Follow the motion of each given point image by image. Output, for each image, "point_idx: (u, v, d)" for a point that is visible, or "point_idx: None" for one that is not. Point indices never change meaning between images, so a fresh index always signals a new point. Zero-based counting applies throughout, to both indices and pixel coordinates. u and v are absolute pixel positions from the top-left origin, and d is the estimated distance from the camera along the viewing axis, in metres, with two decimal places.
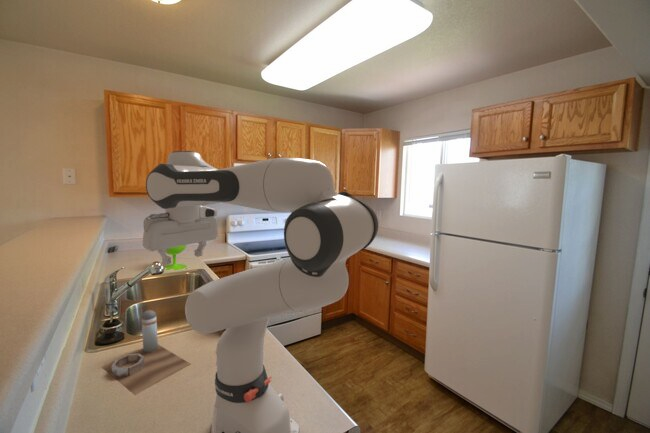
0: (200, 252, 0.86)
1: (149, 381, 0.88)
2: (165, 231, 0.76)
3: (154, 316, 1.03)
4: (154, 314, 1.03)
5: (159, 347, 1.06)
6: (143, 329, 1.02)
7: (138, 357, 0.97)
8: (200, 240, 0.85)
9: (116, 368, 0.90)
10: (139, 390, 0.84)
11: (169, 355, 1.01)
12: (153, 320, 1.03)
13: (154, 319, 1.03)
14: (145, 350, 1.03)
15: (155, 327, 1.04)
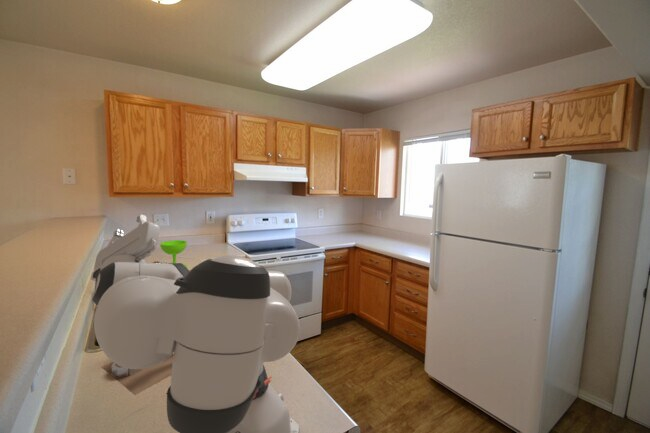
0: (114, 233, 0.82)
1: (149, 381, 0.88)
2: (136, 242, 0.74)
3: None
4: None
5: None
6: None
7: None
8: (111, 244, 0.79)
9: (116, 368, 0.90)
10: (139, 390, 0.84)
11: None
12: None
13: None
14: None
15: None
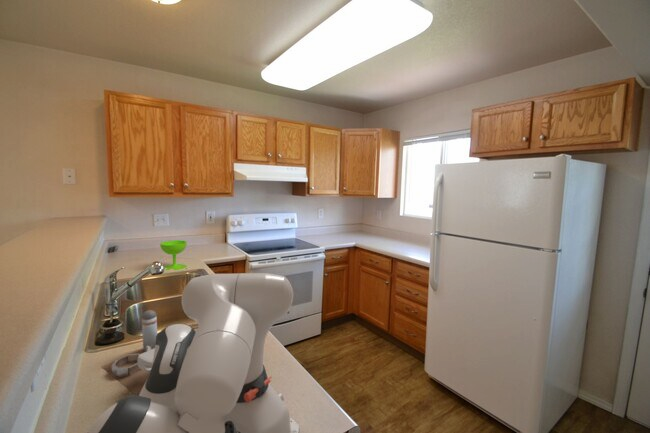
0: None
1: None
2: None
3: (154, 316, 1.03)
4: (154, 314, 1.03)
5: None
6: (143, 329, 1.02)
7: None
8: None
9: (116, 368, 0.90)
10: (139, 390, 0.84)
11: None
12: (153, 320, 1.03)
13: (154, 319, 1.03)
14: (145, 350, 1.03)
15: (155, 327, 1.04)
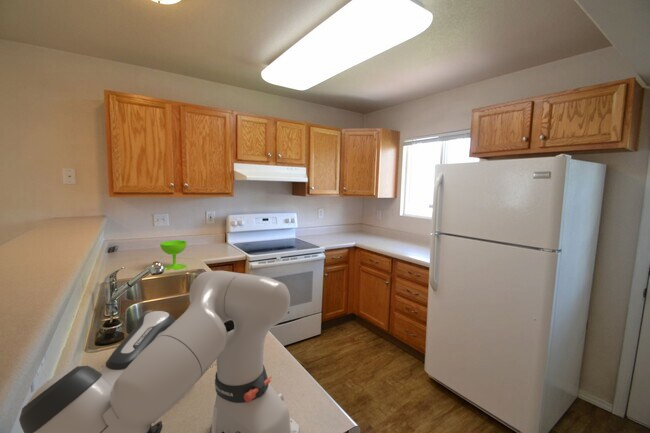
0: None
1: None
2: None
3: None
4: None
5: None
6: None
7: None
8: None
9: None
10: None
11: None
12: None
13: None
14: None
15: None
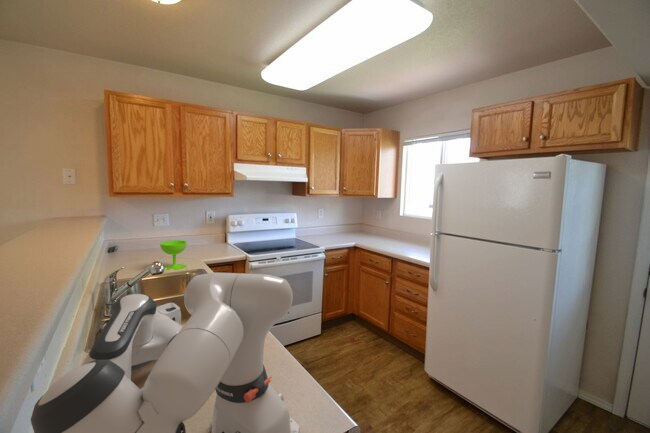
0: None
1: None
2: None
3: None
4: None
5: None
6: None
7: None
8: None
9: None
10: None
11: None
12: None
13: None
14: None
15: None
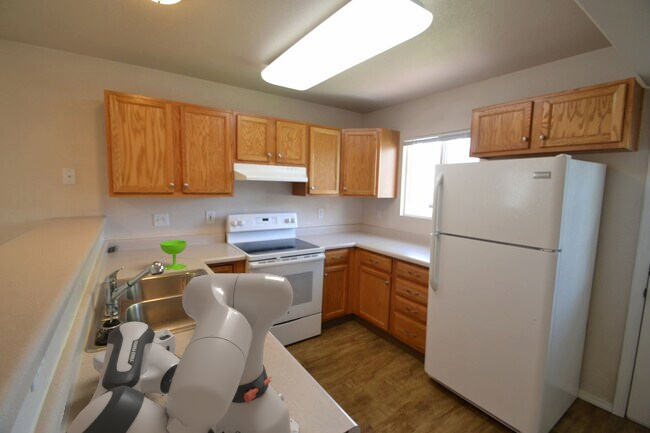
0: None
1: None
2: None
3: None
4: None
5: None
6: None
7: None
8: None
9: None
10: None
11: None
12: None
13: None
14: None
15: None
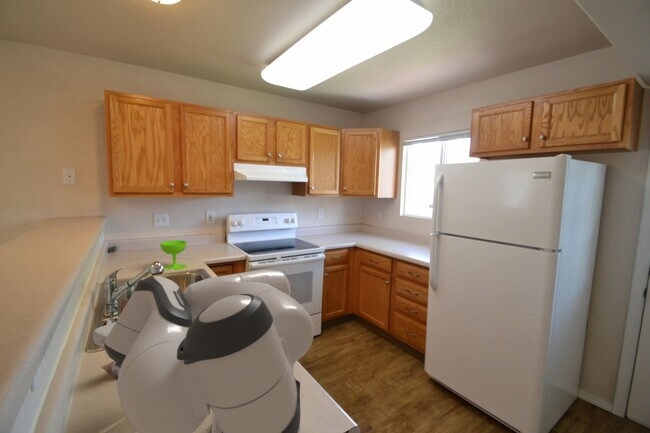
0: None
1: None
2: None
3: None
4: None
5: None
6: None
7: None
8: None
9: (116, 368, 0.90)
10: None
11: None
12: None
13: None
14: None
15: None
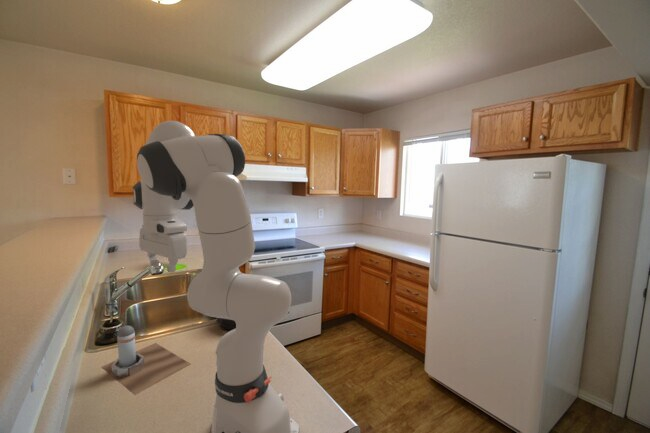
0: (168, 268, 0.86)
1: (149, 381, 0.88)
2: (146, 236, 0.90)
3: (132, 332, 0.92)
4: (132, 330, 0.92)
5: (159, 347, 1.06)
6: (119, 347, 0.91)
7: (138, 357, 0.97)
8: (163, 255, 0.85)
9: (116, 368, 0.90)
10: (139, 390, 0.84)
11: (169, 355, 1.01)
12: (130, 337, 0.92)
13: (132, 336, 0.92)
14: None
15: (133, 344, 0.93)
